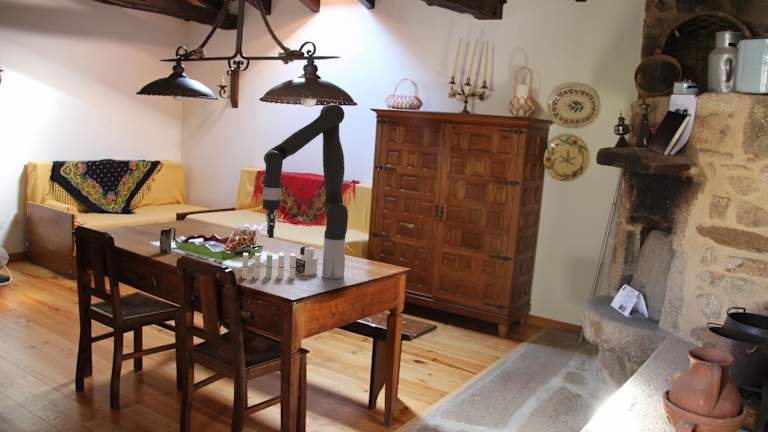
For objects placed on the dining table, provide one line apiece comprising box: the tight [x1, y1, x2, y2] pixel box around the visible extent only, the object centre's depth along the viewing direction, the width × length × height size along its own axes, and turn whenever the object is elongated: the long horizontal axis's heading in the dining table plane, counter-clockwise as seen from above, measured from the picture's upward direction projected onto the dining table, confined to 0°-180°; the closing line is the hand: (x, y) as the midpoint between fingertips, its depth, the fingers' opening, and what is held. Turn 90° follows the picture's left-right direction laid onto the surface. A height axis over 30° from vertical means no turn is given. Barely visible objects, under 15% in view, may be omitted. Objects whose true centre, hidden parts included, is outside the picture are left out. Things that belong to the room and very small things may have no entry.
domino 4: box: [277, 252, 285, 280], centre depth 275 cm, size 2×5×10 cm, turn 14°
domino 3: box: [265, 252, 273, 280], centre depth 274 cm, size 2×5×10 cm, turn 14°
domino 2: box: [253, 252, 261, 280], centre depth 273 cm, size 2×5×10 cm, turn 14°
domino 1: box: [241, 252, 249, 279], centre depth 272 cm, size 2×5×10 cm, turn 14°
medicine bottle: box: [295, 246, 319, 276], centre depth 286 cm, size 7×7×12 cm
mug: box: [159, 227, 177, 255], centre depth 309 cm, size 8×6×12 cm
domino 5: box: [288, 253, 297, 280], centre depth 277 cm, size 2×5×10 cm, turn 14°
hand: (270, 236), depth 272 cm, fingers open, 8 cm apart
